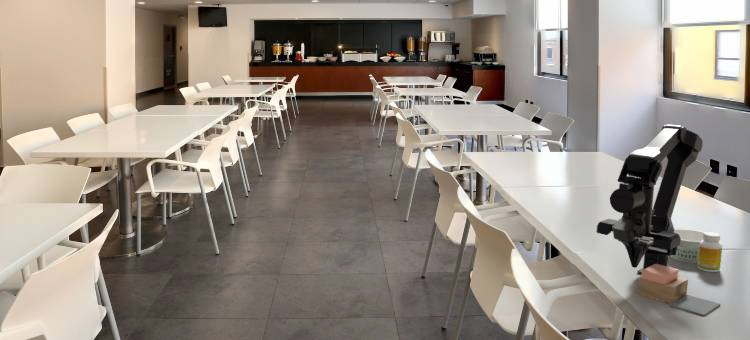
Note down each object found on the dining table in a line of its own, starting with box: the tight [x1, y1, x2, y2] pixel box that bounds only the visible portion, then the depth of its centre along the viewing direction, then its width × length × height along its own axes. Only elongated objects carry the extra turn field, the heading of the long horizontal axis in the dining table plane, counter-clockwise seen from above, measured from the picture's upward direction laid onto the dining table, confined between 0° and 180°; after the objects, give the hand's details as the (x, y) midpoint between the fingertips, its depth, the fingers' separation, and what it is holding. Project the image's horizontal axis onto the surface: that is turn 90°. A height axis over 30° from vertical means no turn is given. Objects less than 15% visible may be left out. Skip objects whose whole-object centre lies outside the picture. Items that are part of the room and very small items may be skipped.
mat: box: [669, 294, 721, 317], centre depth 149 cm, size 9×8×1 cm
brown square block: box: [637, 276, 689, 305], centre depth 155 cm, size 8×8×4 cm
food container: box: [669, 228, 704, 264], centre depth 182 cm, size 12×12×6 cm
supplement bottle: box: [696, 231, 723, 273], centre depth 172 cm, size 5×5×10 cm
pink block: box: [640, 264, 679, 284], centre depth 155 cm, size 7×6×2 cm
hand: (634, 267), depth 160 cm, fingers closed
